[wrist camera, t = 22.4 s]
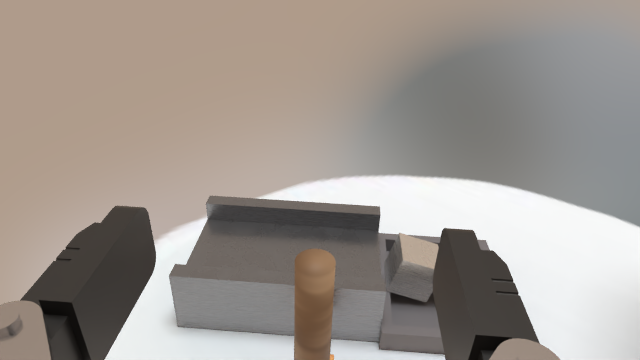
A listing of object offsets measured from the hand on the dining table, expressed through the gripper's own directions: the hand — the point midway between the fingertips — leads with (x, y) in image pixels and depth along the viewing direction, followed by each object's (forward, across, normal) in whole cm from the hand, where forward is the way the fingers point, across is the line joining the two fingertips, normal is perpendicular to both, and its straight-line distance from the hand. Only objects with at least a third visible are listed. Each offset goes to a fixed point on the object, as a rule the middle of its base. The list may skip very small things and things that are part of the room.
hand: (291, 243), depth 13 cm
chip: (+24, -8, +23) cm, 35 cm away
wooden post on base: (+11, 0, +25) cm, 27 cm away
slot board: (+24, +4, +25) cm, 35 cm away
